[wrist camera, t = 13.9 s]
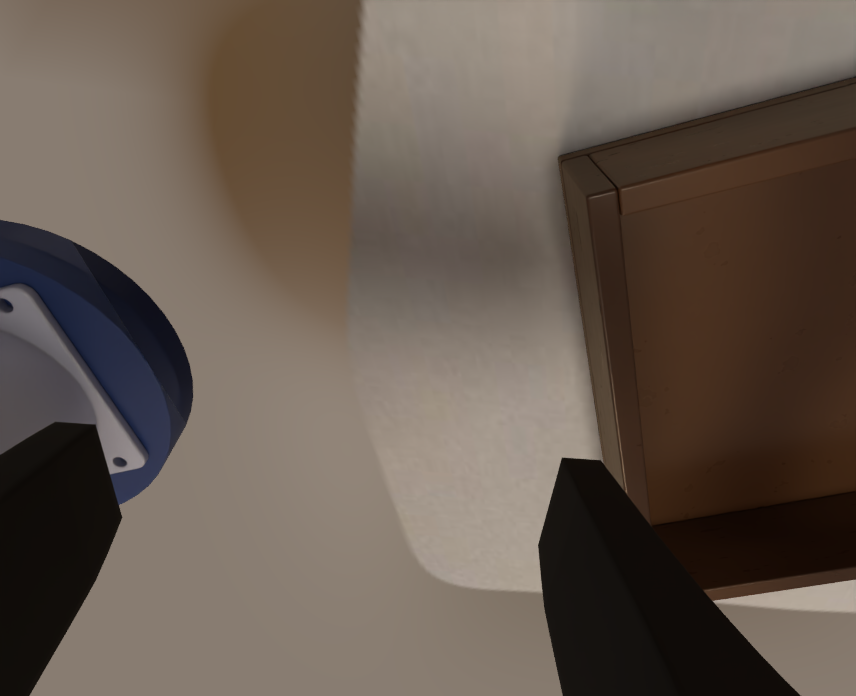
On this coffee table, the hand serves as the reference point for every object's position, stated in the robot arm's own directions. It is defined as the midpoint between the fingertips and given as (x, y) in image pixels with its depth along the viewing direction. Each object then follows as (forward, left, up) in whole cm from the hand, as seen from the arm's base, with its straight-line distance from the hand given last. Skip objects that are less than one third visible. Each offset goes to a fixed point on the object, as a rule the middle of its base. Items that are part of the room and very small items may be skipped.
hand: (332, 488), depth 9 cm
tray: (+12, -6, -9) cm, 16 cm away
